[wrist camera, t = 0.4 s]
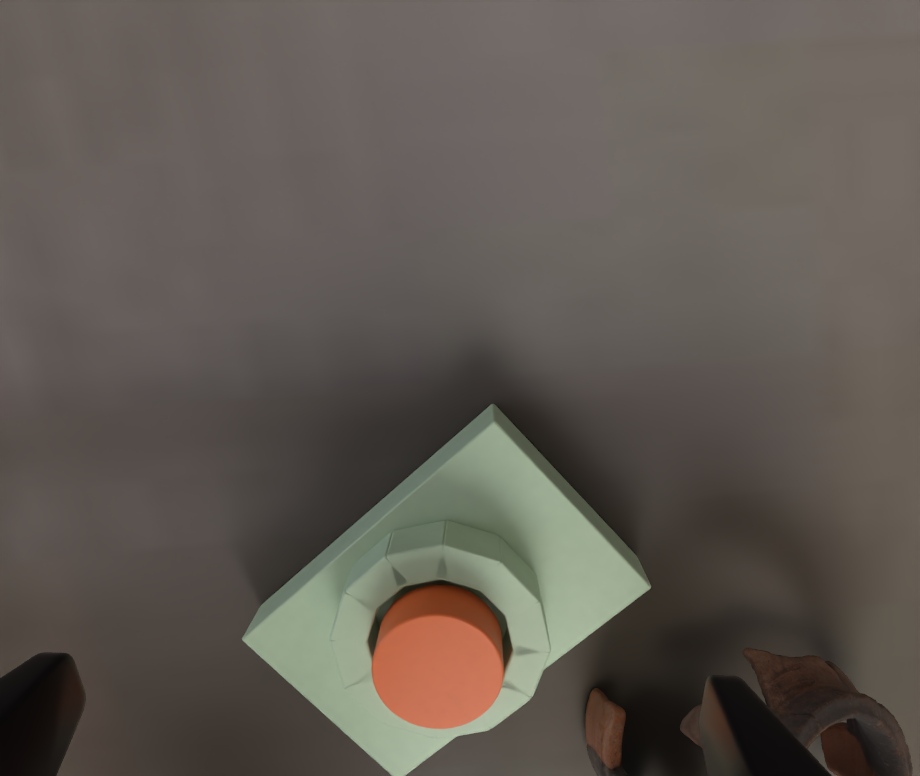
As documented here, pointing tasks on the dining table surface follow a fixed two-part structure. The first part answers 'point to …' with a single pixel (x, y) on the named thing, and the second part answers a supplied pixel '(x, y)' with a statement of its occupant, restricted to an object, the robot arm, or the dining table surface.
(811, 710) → the pottery mug
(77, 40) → the dining table surface
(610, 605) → the box
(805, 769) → the robot arm
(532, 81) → the dining table surface
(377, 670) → the call button
